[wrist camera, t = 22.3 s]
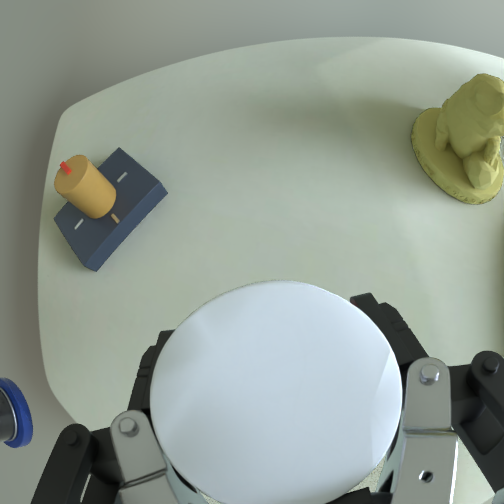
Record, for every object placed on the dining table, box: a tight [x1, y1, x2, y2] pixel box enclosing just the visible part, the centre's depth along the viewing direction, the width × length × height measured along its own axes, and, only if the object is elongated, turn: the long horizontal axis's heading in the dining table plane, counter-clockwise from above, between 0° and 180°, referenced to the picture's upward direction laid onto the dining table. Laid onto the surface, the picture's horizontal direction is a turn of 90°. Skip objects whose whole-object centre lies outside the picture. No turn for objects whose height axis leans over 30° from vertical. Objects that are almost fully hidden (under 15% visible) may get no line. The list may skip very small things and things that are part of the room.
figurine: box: [411, 74, 504, 204], centre depth 22 cm, size 15×14×15 cm
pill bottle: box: [150, 280, 402, 504], centre depth 10 cm, size 6×6×11 cm
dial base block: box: [54, 147, 168, 272], centre depth 30 cm, size 12×9×3 cm
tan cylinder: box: [54, 155, 116, 219], centre depth 26 cm, size 4×4×6 cm
